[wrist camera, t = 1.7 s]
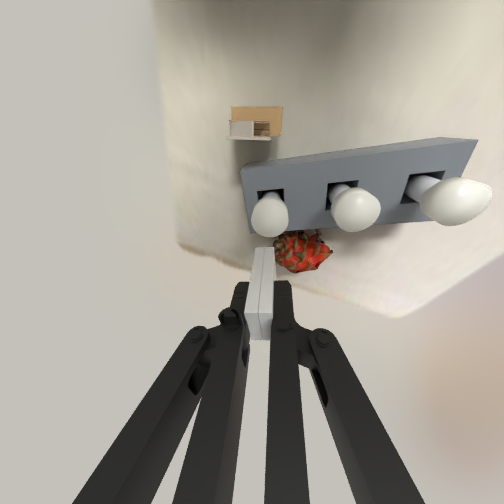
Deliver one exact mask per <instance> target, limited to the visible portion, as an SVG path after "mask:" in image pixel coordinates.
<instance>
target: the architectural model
mask: <svg viewBox="0 0 504 504" xmlns="http://www.w3.org/2000/svg"><path fill="white" fill-rule="evenodd" d="M282 110H283V107H231V113H232V120H229V121H230V137H226V139H235V140H271V138H272V136H280V133H281V122H282ZM254 122H269V123H254ZM263 135H265V136H263Z"/></svg>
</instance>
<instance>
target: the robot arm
mask: <svg viewBox="0 0 504 504" xmlns="http://www.w3.org/2000/svg"><path fill="white" fill-rule="evenodd" d="M218 318H219V320H220V322H221V324H220V325H219V326H216V327H213V328H210V329H206V328H205V327H204V326H196V327H194V328H192V329H191V330H190V331H189V332H188V333H187V334H186V336H185V337H184V339H183V340H182V342H181V343H180V345H179V346H178V348H177V349H176V351H175V352H174V354H173V355H172V357H171V358H170V359H169V361H168V362H167V364H166V366H165V367H164V368H163V370H162V371H161V373H160V374H159V376H158V377H157V379H156V380H155V382H154V383H153V385H152V386H151V388H150V389H149V391H148V392H147V393H146V395H145V397H144V398H143V400H142V401H141V402H140V404H139V405H138V407H137V408H136V410H135V411H134V413H133V414H132V416H131V417H130V419H129V420H128V422H127V423H126V425H125V426H124V428H123V429H122V431H121V432H120V433H119V435H118V436H117V438H116V439H115V441H114V442H113V444H112V445H111V447H110V448H109V450H108V451H107V453H106V454H105V456H104V457H103V459H102V460H101V462H100V463H99V465H98V466H97V468H96V469H95V471H94V472H93V473H92V475H91V476H90V478H89V479H88V481H87V482H86V484H85V485H84V487H83V488H82V490H81V491H80V493H79V494H78V496H77V497H76V499H75V500H74V502H73V503H72V504H151V502H152V500H153V498H154V496H155V494H156V492H157V490H158V488H159V486H160V483H161V481H162V479H163V477H164V475H165V473H166V471H167V468H168V466H169V464H170V462H171V460H172V458H173V456H174V454H175V452H176V449H177V447H178V445H179V443H180V441H181V439H182V437H183V434H184V433H185V430H186V428H187V426H188V424H189V422H190V420H191V418H192V416H193V413H194V411H195V409H196V407H197V405H198V403H199V401H200V399H201V401H200V405H199V408H198V412H197V416H196V419H195V423H194V427H193V430H192V434H191V437H190V441H189V445H188V448H187V452H186V455H185V459H184V463H183V466H182V470H181V474H180V477H179V481H178V484H177V488H176V492H175V495H174V499H173V502H172V504H232V497H233V490H234V481H235V473H236V463H237V456H238V447H239V439H240V430H241V421H242V413H243V404H244V396H245V388H246V379H247V370H248V362H249V354H250V344H249V340H250V338H251V340H270V367H269V393H268V418H267V444H266V471H265V472H266V473H265V496H264V504H310V500H309V488H308V477H307V464H306V452H305V440H304V428H303V415H302V403H301V391H300V379H299V367H298V364H300V365H302V366H304V367H307V368H309V370H310V373H311V376H312V379H313V381H314V384H315V387H316V390H317V393H318V396H319V399H320V401H321V404H322V407H323V410H324V413H325V416H326V418H327V421H328V424H329V427H330V430H331V433H332V436H333V439H334V441H335V444H336V447H337V450H338V453H339V456H340V459H341V461H342V464H343V467H344V470H345V473H346V476H347V479H348V481H349V484H350V487H351V490H352V493H353V496H354V498H355V501H356V504H425V503H424V501H423V499H422V497H421V495H420V493H419V491H418V489H417V487H416V486H415V484H414V482H413V480H412V478H411V476H410V474H409V473H408V471H407V469H406V467H405V465H404V463H403V461H402V460H401V458H400V456H399V454H398V452H397V450H396V448H395V447H394V445H393V443H392V441H391V439H390V437H389V435H388V434H387V432H386V430H385V428H384V426H383V424H382V422H381V421H380V419H379V417H378V415H377V413H376V411H375V409H374V408H373V406H372V404H371V402H370V400H369V398H368V396H367V395H366V393H365V391H364V389H363V387H362V385H361V383H360V382H359V380H358V378H357V376H356V374H355V372H354V370H353V368H352V367H351V365H350V363H349V361H348V359H347V357H346V355H345V354H344V352H343V350H342V348H341V346H340V344H339V342H338V340H337V339H336V337H335V336H334V334H333V333H331V332H330V331H329V330H326V329H323V328H317V329H315V330H313V331H311V330H308V329H305V328H303V327H301V326H300V325H299V324H298V323H297V322H296V321H295V319H294V312H293V300H292V288H291V285H290V283H289V281H288V280H285V281H276V265H275V253H274V247H259V248H256V249H255V255H254V260H253V266H252V271H251V277H250V282H239V283H238V284H237V285H236V287H235V290H234V294H233V298H232V301H231V305H230V307H228V308H226V309H224V310H222V311H221V312H220V314H219V316H218ZM201 397H202V398H201Z"/></svg>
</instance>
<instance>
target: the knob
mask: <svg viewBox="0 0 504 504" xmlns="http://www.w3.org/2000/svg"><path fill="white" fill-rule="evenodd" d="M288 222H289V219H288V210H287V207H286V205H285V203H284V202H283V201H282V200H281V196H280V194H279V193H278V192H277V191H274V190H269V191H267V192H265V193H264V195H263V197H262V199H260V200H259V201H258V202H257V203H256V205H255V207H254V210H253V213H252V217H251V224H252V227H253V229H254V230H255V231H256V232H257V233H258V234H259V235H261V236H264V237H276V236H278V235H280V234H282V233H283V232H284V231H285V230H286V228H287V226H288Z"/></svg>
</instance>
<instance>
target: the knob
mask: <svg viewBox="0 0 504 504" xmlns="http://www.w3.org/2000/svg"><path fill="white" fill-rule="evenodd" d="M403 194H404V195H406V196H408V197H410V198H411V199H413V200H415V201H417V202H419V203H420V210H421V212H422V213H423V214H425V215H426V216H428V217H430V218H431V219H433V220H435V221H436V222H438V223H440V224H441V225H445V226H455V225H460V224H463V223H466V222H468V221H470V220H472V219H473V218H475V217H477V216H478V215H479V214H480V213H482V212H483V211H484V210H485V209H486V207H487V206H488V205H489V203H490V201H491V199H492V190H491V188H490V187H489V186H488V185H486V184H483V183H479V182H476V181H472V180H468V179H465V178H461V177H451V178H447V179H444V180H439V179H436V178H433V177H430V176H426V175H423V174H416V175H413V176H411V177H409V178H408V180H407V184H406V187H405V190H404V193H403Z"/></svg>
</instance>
